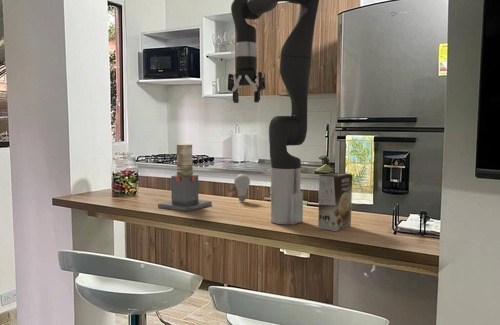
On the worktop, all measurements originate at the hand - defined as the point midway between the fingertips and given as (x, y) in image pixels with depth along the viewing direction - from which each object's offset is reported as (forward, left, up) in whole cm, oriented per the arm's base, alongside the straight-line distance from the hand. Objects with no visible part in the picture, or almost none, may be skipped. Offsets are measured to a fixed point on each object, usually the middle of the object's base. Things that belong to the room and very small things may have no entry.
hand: (246, 102), depth 160 cm
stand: (+21, +9, -38) cm, 44 cm away
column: (+21, +9, -31) cm, 38 cm away
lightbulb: (+8, -10, -38) cm, 40 cm away
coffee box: (-38, +11, -38) cm, 55 cm away
